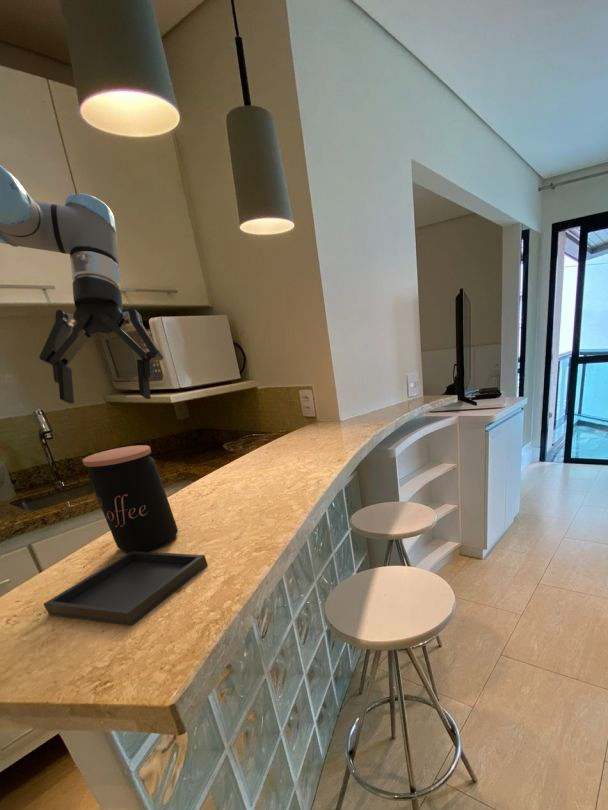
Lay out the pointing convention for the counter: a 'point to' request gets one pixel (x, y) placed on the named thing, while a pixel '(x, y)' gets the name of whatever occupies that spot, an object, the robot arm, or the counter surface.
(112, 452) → the coffee jar
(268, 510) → the counter surface
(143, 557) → the black tray
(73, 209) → the robot arm
